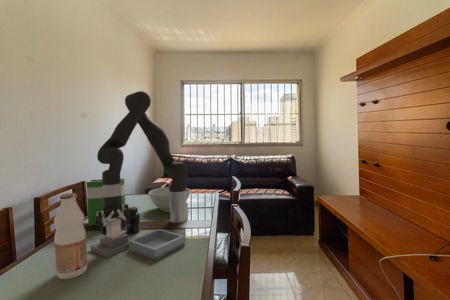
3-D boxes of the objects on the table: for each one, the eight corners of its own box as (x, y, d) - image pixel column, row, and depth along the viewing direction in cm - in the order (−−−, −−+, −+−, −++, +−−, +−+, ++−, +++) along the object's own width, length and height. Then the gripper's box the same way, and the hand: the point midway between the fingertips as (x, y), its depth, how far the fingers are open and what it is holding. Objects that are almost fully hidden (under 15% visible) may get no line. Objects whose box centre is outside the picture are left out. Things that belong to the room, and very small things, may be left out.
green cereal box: (88, 226, 137) (86, 182, 136) (93, 221, 145) (91, 179, 143) (122, 223, 140) (120, 180, 138) (125, 219, 147) (124, 178, 146)
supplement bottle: (125, 234, 124) (124, 210, 123) (126, 230, 130) (125, 207, 130) (139, 233, 125) (139, 209, 125) (140, 228, 132) (139, 205, 131)
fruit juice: (60, 283, 83) (56, 199, 82) (53, 273, 89) (48, 194, 88) (91, 271, 90) (87, 193, 88) (82, 263, 96) (78, 190, 95)
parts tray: (159, 236, 120) (159, 228, 120) (184, 244, 111) (184, 235, 111) (129, 250, 107) (128, 240, 107) (155, 260, 98) (155, 250, 97)
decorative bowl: (187, 215, 153) (186, 195, 152) (143, 215, 153) (142, 196, 153) (193, 203, 180) (193, 186, 179) (156, 204, 180) (155, 187, 180)
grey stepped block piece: (120, 239, 119) (120, 228, 118) (136, 244, 112) (136, 233, 112) (90, 250, 107) (90, 238, 107) (107, 257, 100) (106, 245, 100)
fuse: (115, 240, 112) (114, 218, 112) (121, 242, 110) (120, 219, 110) (106, 243, 109) (105, 220, 108) (112, 245, 107) (111, 222, 106)
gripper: (121, 190, 116) (123, 224, 117) (90, 196, 105) (92, 235, 105) (131, 191, 112) (133, 227, 113) (100, 198, 100) (102, 239, 101)
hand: (113, 231), depth 109 cm, fingers open, 8 cm apart
